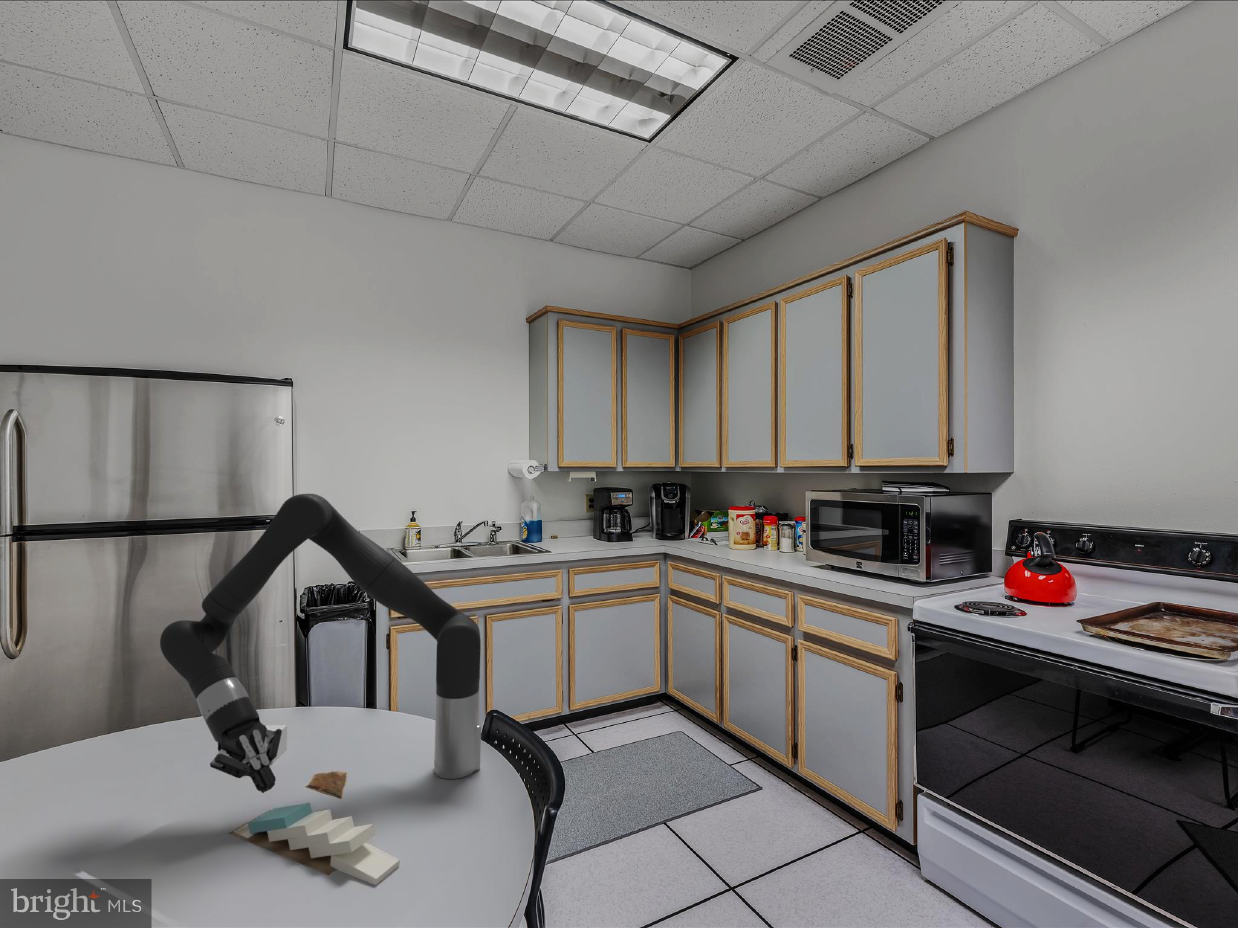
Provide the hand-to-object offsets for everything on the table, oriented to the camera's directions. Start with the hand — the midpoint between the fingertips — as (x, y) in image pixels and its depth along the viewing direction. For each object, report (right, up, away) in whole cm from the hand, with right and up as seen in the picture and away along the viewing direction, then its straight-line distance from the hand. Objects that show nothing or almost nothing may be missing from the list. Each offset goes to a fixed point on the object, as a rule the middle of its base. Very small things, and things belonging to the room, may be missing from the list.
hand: (269, 788), depth 106 cm
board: (+7, -8, -3) cm, 11 cm away
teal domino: (-2, -6, +1) cm, 6 cm away
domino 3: (+13, -6, -6) cm, 15 cm away
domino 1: (+3, -6, -1) cm, 7 cm away
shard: (+4, -9, +16) cm, 19 cm away
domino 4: (+17, -6, -8) cm, 20 cm away
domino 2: (+8, -6, -4) cm, 11 cm away
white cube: (-17, -8, +27) cm, 33 cm away
